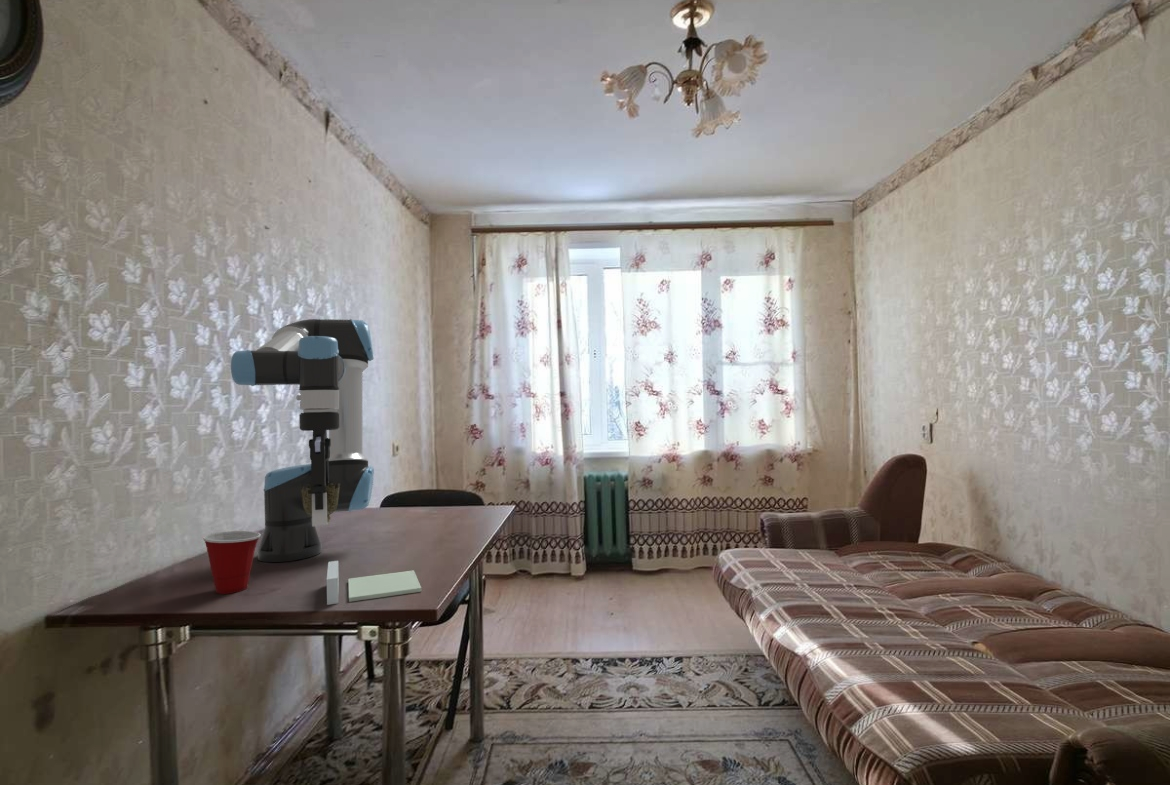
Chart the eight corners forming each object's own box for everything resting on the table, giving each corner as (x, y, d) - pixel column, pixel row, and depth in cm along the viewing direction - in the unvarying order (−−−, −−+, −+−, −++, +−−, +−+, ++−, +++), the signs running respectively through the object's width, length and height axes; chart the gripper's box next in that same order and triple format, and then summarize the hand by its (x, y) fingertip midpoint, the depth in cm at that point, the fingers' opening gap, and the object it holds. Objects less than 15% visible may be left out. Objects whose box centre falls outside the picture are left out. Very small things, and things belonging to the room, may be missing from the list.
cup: (324, 527, 116) (323, 487, 117) (292, 526, 118) (292, 486, 118) (347, 520, 124) (347, 482, 124) (317, 519, 125) (317, 481, 126)
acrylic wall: (328, 584, 128) (328, 561, 128) (338, 583, 129) (338, 560, 129) (327, 604, 115) (326, 579, 115) (338, 603, 116) (337, 577, 116)
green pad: (348, 582, 129) (348, 578, 129) (414, 573, 135) (413, 570, 135) (349, 601, 116) (348, 597, 116) (421, 591, 122) (421, 587, 122)
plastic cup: (262, 591, 124) (261, 535, 124) (201, 601, 119) (200, 542, 119) (261, 578, 133) (261, 526, 134) (205, 587, 128) (204, 532, 128)
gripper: (304, 411, 129) (306, 515, 129) (293, 411, 111) (295, 533, 110) (341, 410, 132) (342, 512, 132) (336, 410, 113) (338, 529, 113)
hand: (321, 521), depth 121 cm, fingers closed on cup, 7 cm apart
